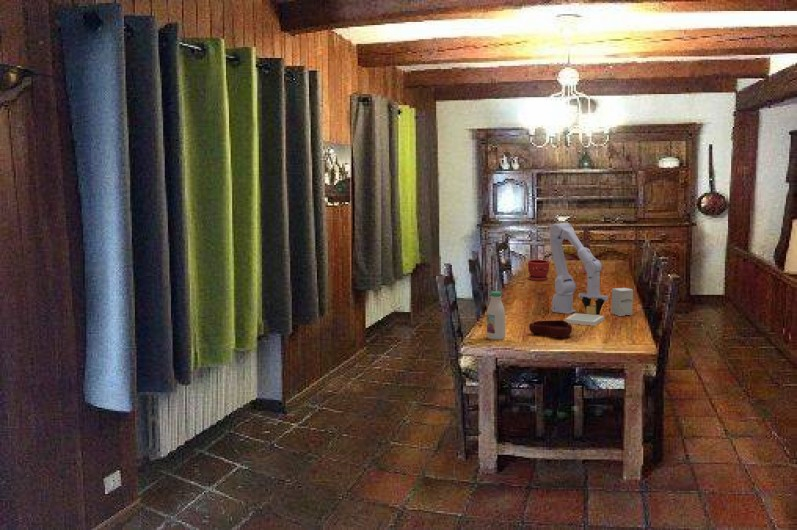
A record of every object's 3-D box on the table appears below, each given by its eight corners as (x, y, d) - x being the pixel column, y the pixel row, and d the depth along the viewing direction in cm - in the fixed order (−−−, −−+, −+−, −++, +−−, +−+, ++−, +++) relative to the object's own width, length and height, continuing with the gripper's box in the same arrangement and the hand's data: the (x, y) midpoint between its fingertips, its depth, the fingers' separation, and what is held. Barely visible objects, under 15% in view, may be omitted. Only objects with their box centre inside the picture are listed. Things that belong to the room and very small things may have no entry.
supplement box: (619, 316, 342) (620, 290, 340) (610, 313, 349) (611, 288, 347) (633, 315, 344) (633, 289, 342) (624, 312, 351) (624, 287, 349)
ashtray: (581, 333, 312) (581, 322, 311) (562, 341, 300) (562, 329, 299) (545, 328, 324) (545, 317, 323) (526, 335, 312) (525, 324, 311)
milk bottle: (503, 335, 311) (503, 290, 308) (506, 339, 304) (506, 293, 301) (485, 336, 311) (485, 290, 308) (488, 340, 303) (488, 293, 301)
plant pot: (526, 281, 449) (526, 262, 448) (529, 277, 462) (529, 259, 460) (548, 281, 446) (548, 262, 444) (550, 278, 458) (550, 259, 456)
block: (586, 316, 344) (586, 306, 343) (590, 315, 347) (591, 304, 346) (595, 318, 341) (595, 307, 340) (599, 316, 344) (599, 305, 343)
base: (564, 323, 332) (564, 318, 331) (574, 317, 343) (574, 313, 343) (595, 326, 324) (595, 321, 324) (604, 320, 336) (604, 315, 336)
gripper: (575, 285, 344) (575, 313, 346) (603, 288, 334) (603, 317, 336) (582, 283, 349) (582, 310, 351) (610, 286, 339) (610, 314, 341)
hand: (593, 313), depth 344 cm, fingers closed on block, 5 cm apart
